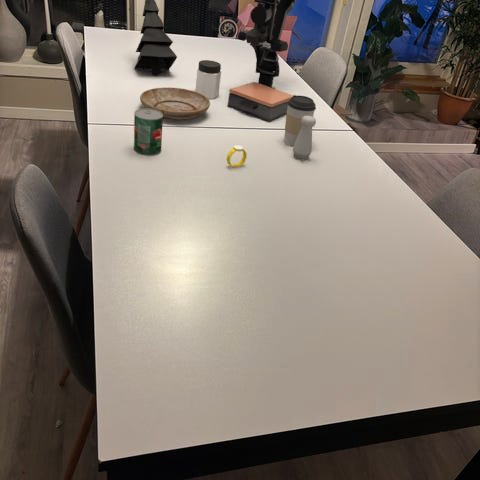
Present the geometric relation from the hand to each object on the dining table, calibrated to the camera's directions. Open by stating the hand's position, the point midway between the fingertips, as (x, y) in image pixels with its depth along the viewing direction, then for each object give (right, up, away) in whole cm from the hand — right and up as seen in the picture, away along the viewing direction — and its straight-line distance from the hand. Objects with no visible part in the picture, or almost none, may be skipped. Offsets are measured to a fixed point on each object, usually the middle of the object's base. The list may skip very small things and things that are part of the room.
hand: (259, 64), depth 187 cm
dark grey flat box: (0, -17, -2) cm, 17 cm away
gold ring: (-8, -44, -42) cm, 62 cm away
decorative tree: (-44, +5, +21) cm, 49 cm away
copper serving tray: (+1, -13, -5) cm, 14 cm away
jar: (-20, -11, +3) cm, 23 cm away
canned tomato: (-34, -39, -42) cm, 67 cm away
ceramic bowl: (-30, -22, -15) cm, 39 cm away
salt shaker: (+12, -40, -32) cm, 52 cm away
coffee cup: (+11, -34, -23) cm, 42 cm away
